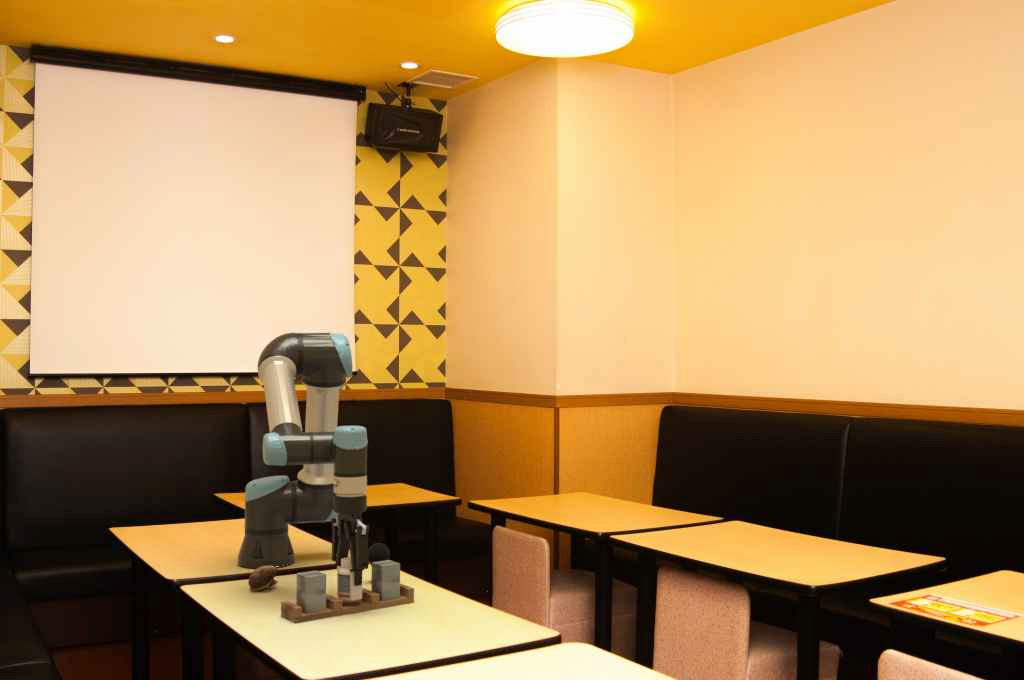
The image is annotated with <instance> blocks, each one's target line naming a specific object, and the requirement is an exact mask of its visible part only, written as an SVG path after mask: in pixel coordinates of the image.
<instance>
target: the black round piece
mask: <svg viewBox="0 0 1024 680" xmlns="http://www.w3.org/2000/svg"><path fill="white" fill-rule="evenodd" d="M390 557H391V552H390V549H389V547H388V546H387V545H386V544H385V543H382V542H377V543H372V544H371V545H370V546H368V564H370V566H371V568H372V562H379V561H386V560H390Z"/></svg>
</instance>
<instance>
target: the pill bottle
mask: <svg viewBox="0 0 1024 680" xmlns="http://www.w3.org/2000/svg"><path fill="white" fill-rule="evenodd" d="M341 566H342V568H340V569H339V571H338V595H337V599H340V600H350V571H349V570H350V569H352V564H351V556H350V557H349V556H348V557H346V558H342V559H341Z"/></svg>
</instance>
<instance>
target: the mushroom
mask: <svg viewBox="0 0 1024 680" xmlns="http://www.w3.org/2000/svg"><path fill="white" fill-rule="evenodd" d="M277 574H278V567H274V566H269V565H268V566H261V567H259V568H254V570H253V571H252V572H251V574H250V575H249V577H248V586H249V588H250V589H251V590H252V591H254V592H258V591H261V590H262V589H267V590H269V589H271V588H273V587H274V586H276V585H277V584H278V583H279V581H277V580H276V579H275V577H276V575H277Z"/></svg>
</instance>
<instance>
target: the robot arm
mask: <svg viewBox="0 0 1024 680" xmlns="http://www.w3.org/2000/svg"><path fill="white" fill-rule="evenodd" d="M352 356H353V355H352V349H351V346H350V342H349V339H348V337H347V336H346V335H345V334H344V333H333V332H307V333H306V332H288V333H287V332H286V333H283V334H281V335H278V336H277V337H275V338H274V339H273V340H271V341H269V343H267V344H266V346H265V347H264V348H263V350H262V351H261V353H260V355H259V357H258V362H257V374H258V378H259V379H260V382H262V383H263V389H264V398H265V405H266V413H267V420H268V430H269V433H268V432H267V433H265V434H264V435H263V437H262V459H263V463H264V464H265V465H267V466H280V467H284V466H285V467H286V466H301V465H303V468H302V469H301V470H300V471H299V472H298V473H297V477H296V480H290V478H289V476H288V475H273V476H266V477H260V478H256V479H253V480H251V481H249V482H248V483H247V484H246V485H245V491H244V492H245V494H244V502H245V503H244V537H243V540H242V543H241V545H240V548H239V552H238V555H237V565H238V566H239V565H240V567H242V566H244V567H243V568H246V567H251V568H250V569H257V568H259V567H261V566H268V565H269V566H274V567H276V566H283V565H287V564H290V563H293V562H294V561H295V559H296V558H295V556H296V555H295V551H294V548H293V544H292V542H291V539H290V535H289V524H305V523H306V524H308V523H309V524H310V523H326V522H330V523H331V534H332V535H331V561H332V562H334V563H335V565H336V595H337V596H338V571H339V569H340V568H342V566H341V559H342V558H346V557H349V555H350V557H351V564H352V569H350V570H349V571H350V600H351V601H353V600H359V599H362V588H363V571H364V570H368V569H369V562H368V549H369V531H370V525H369V524H364V523H363V517H362V514H363V513H364V512H366V511H367V509H368V505H367V504H368V499H367V498H368V497H367V495H366V493H367V492H368V473H367V472H368V468H367V466H368V464H367V463H368V462H367V461H368V443H369V441H368V440H369V439H368V433H367V432H368V431H367V428H366V427H364V426H362V425H339V426H338V418H339V417H338V416H339V398H340V389H341V388H342V387H343V386H345V384H346V378H349V377H352V376H353V358H352ZM297 377H299V378H300V377H301V383H302V385H303V386H305V388H306V405H305V406H306V408H305V424H304V425H305V429H304V430H305V431H303V428H302V421H301V415H300V414H301V413H300V409H299V403H298V396H297V391H296V383H295V379H294V378H297ZM294 563H295V562H294ZM294 563H293V564H294ZM290 565H291V564H290ZM287 566H288V565H287ZM283 567H284V566H283ZM276 568H277V567H276Z"/></svg>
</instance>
